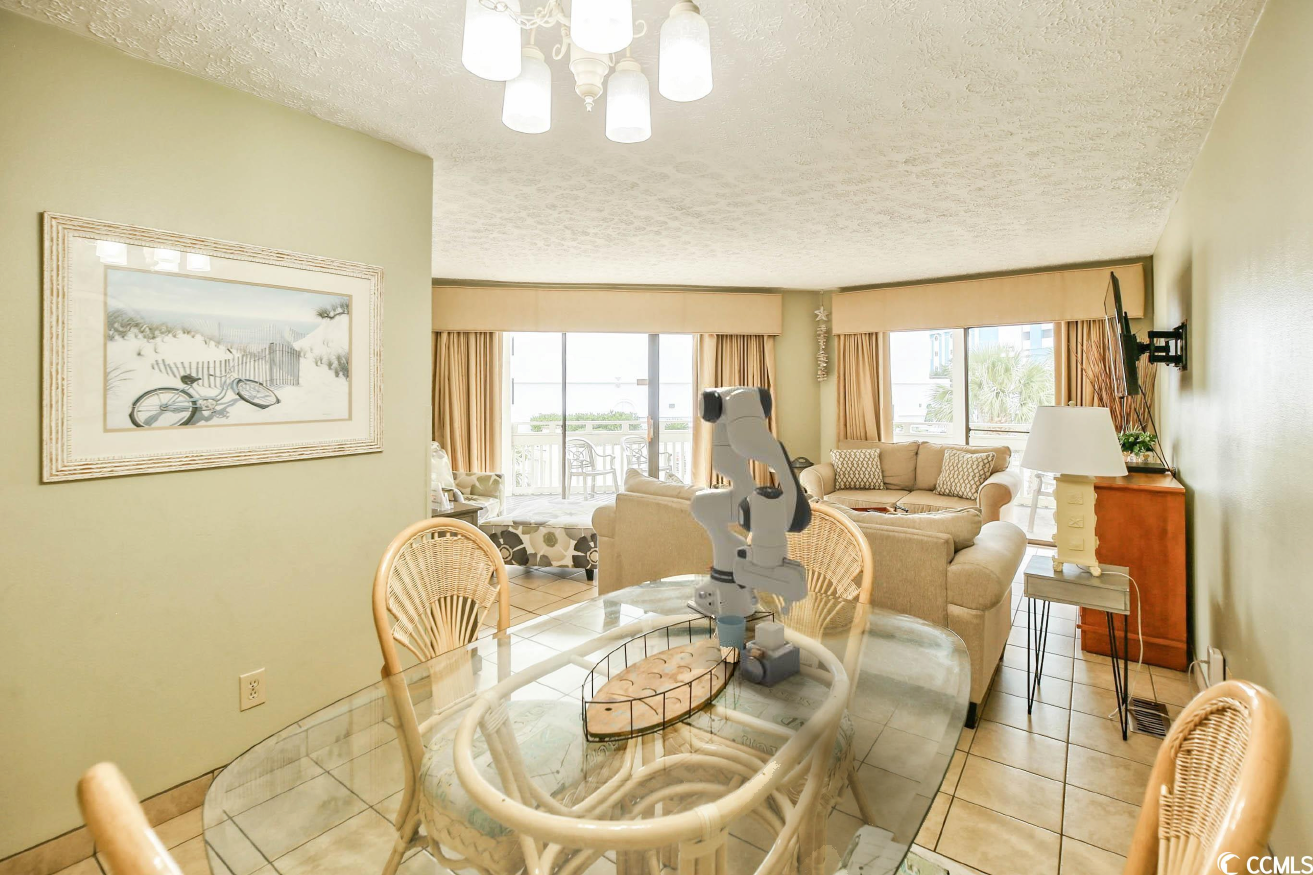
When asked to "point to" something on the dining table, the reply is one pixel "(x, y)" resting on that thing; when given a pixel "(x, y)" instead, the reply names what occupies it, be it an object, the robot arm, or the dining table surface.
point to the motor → (769, 663)
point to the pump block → (769, 635)
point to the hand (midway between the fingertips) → (769, 608)
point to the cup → (731, 631)
